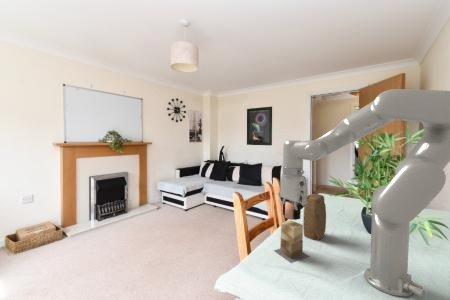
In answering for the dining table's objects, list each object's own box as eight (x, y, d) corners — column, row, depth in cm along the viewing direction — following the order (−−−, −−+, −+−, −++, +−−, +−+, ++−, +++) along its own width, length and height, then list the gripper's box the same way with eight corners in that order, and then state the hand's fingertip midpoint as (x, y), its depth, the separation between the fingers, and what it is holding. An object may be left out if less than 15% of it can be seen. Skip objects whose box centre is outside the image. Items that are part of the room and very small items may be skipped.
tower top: (302, 239, 85) (302, 224, 85) (293, 243, 81) (293, 228, 81) (289, 234, 90) (290, 220, 89) (280, 238, 86) (280, 223, 86)
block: (316, 242, 96) (317, 198, 95) (301, 236, 101) (302, 195, 101) (327, 236, 102) (328, 194, 102) (313, 230, 108) (314, 191, 107)
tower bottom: (302, 255, 84) (302, 240, 84) (291, 258, 82) (291, 243, 81) (291, 248, 90) (291, 234, 89) (280, 251, 87) (280, 237, 87)
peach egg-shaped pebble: (300, 218, 84) (301, 203, 84) (291, 220, 82) (291, 205, 81) (291, 214, 88) (291, 200, 88) (282, 216, 86) (282, 201, 86)
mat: (310, 257, 84) (310, 256, 83) (291, 264, 79) (291, 262, 79) (291, 246, 92) (291, 245, 92) (273, 251, 88) (273, 250, 88)
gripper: (317, 174, 78) (315, 222, 79) (284, 168, 93) (283, 209, 94) (302, 175, 75) (301, 226, 76) (271, 169, 90) (270, 211, 91)
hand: (291, 216), depth 85 cm, fingers closed on peach egg-shaped pebble, 4 cm apart
